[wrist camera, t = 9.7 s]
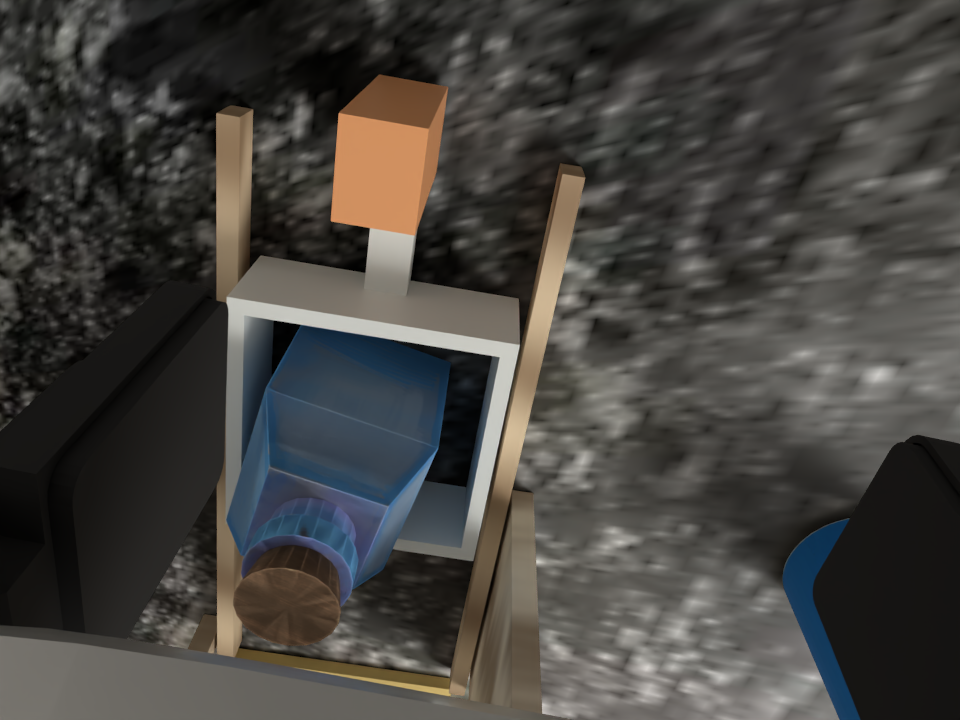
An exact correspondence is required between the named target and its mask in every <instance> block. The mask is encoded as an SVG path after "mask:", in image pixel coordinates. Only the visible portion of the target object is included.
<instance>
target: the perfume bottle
mask: <svg viewBox="0 0 960 720" xmlns="http://www.w3.org/2000/svg"><path fill="white" fill-rule="evenodd" d="M450 365H451V362H448V361H445V360H442V359H440V358H437V357H434V356H431V355H429V354H426V353H423V352H420V351H418V350H415V349H412V348H409V347H407V346H404V345H401V344H398V343H396V342H393V341H390V340H387V339H385V338H379V337H373V336H367V335H361V334H355V333H349V332H343V331H337V330H330V329H324V328H318V327H312V326H306V325H301V326H300V328H299V329H298V331H297V333H296V335H295V337H294V338H293V340H292V342H291V344H290V346H289V347H288V349H287V351H286V353H285V355H284V356H283V358H282V360H281V362H280V364H279V365H278V367H277V369H276V371H275V373H274V374H273V376H272V378H271V380H270V382H269V383H268V385H267V387H266V389H265V392H264V396H263V399H262V402H261V406H260V409H259V412H258V416H257V419H256V422H255V425H254V429H253V432H252V435H251V439H250V442H249V445H248V449H247V452H246V455H245V459H244V462H243V465H242V468H241V472H240V475H239V478H238V482H237V485H236V488H235V492H234V495H233V498H232V502H231V505H230V508H229V511H228V515H227V518H226V521H227V524H228V526H229V529H230V531H231V533H232V536H233V538H234V541H235V543H236V545H237V548H238V550H239V553H240V555H242V556H244V558H243V561H242V569H241V575H242V578H243V579H242V580H241V581H240V583H239V585H238V586H237V588H236V590H235V591H234V598H233V606H234V609H235V612H236V615H237V617H238V618H239V619H240V621H241V622H242V623H243V624H244V626H245V627H246V628H247V629H249V630H250V631H252V632H253V633H254V634H256V635H257V636H258V637H261V638H263V639H266V640H268V641H271V642H273V643H278V644H283V645H289V646H296V645H308V644H311V643H315V642H318V641H321V640H322V639H324V638H325V637H327V636H328V635H330V634H331V633H332V632H333V631H334V629H335V628H336V626H337V625H338V623H339V618H340V613H341V606H342V605H343V604H344V603H345V602H346V600H347V599H348V597H349V596H350V595H351V591H352V590H353V589H355V588H356V587H358V586H359V585H361V584H362V583H364V582H365V581H367V580H368V579H370V578H371V577H373V576H374V575H376V574H377V573H379V572H381V571H382V570H383V569H384V567H385V565H386V563H387V560H388V558H389V556H390V554H391V552H392V549H393V547H394V545H395V543H396V540H397V538H398V536H399V534H400V532H401V529H402V527H403V525H404V523H405V521H406V518H407V516H408V514H409V512H410V510H411V507H412V505H413V503H414V501H415V499H416V496H417V494H418V492H419V490H420V488H421V485H422V483H423V481H424V479H425V476H426V474H427V472H428V470H429V468H430V465H431V463H432V461H433V459H434V457H435V454H436V452H437V450H438V448H439V441H440V434H441V427H442V420H443V413H444V406H445V399H446V393H447V386H448V379H449V372H450Z"/></svg>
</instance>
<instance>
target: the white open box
mask: <svg viewBox="0 0 960 720" xmlns="http://www.w3.org/2000/svg"><path fill="white" fill-rule="evenodd" d="M447 92H448V87H446V86H441V85H435V84H429V83H424V82H418V81H413V80H407V79H402V78H396V77H390V76H385V75H378V76H377V77H376V78H375V79H374V80H373V81H372V82H371V83H370V84H369V85H368V86H367V87H366V88H365V89H364V90H362V91H361V92H360V93H359V94H358V95H357V96H356V97H355V98H354V99H353V100H352V101H351V102H350V103H349V104H348V105H347V106H346V107H345V108H343V109H342V110H341V111H340V112H339V116H338V129H337V143H336V157H335V170H334V184H333V197H332V211H331V221H332V222H337V223H343V224H349V225H355V226H361V227H367V228H370V233H369V243H368V253H367V263H366V273H363V272H357V271H351V270H345V269H339V268H333V267H327V266H321V265H315V264H309V263H303V262H297V261H291V260H285V259H279V258H273V257H267V256H260V257H259V258H258V259H257V260H256V262H255V263H254V264H253V265H252V267H251V268H250V269H249V270H248V271H247V273H246V274H245V275H244V276H243V278H242V279H241V280H240V281H239V282H238V284H237V285H236V286H235V287H234V288H233V290H232V291H231V292H230V293H229V295H228V296H227V306H228V314H229V316H228V350H227V385H226V512H225V524H227V521H226V518H227V515H228V511H229V508H230V505H231V502H232V498H233V495H234V492H235V488H236V485H237V482H238V478H239V475H240V472H241V468H242V465H243V462H244V459H245V455H246V452H247V449H248V445H249V442H250V439H251V435H252V432H253V429H254V425H255V422H256V419H257V416H258V412H259V409H260V406H261V402H262V399H263V396H264V392H265V389H266V387H267V385H268V383H269V382H270V380H271V376H272V350H273V324H274V320H275V321H281V322H288V323H294V324H300V325H306V326H312V327H318V328H324V329H330V330H337V331H343V332H349V333H355V334H361V335H367V336H373V337H379V338H385V339H392V340H398V341H404V342H410V343H416V344H422V345H428V346H434V347H441V348H447V349H453V350H459V351H465V352H471V353H477V354H483V355H489V356H492V359H491V364H490V369H489V374H488V379H487V384H486V390H485V395H484V400H483V405H482V410H481V415H480V420H479V425H478V430H477V435H476V440H475V445H474V450H473V456H472V461H471V466H470V471H469V476H468V481H467V486H466V487H461V486H455V485H448V484H442V483H435V482H429V481H423V483H422V485H421V488H420V490H419V492H418V494H417V496H416V499H415V501H414V503H413V505H412V507H411V510H410V512H409V514H408V516H407V518H406V521H405V523H404V525H403V527H402V529H401V532H400V534H399V536H398V538H397V540H396V543H395V545H394V547H393V549H394V550H401V551H407V552H414V553H421V554H427V555H434V556H441V557H447V558H454V559H461V560H467V561H473V560H474V556H475V551H476V546H477V542H478V537H479V533H480V528H481V523H482V519H483V514H484V509H485V505H486V500H487V495H488V491H489V486H490V481H491V477H492V472H493V468H494V463H495V458H496V454H497V449H498V444H499V440H500V435H501V430H502V426H503V421H504V416H505V412H506V407H507V403H508V398H509V393H510V389H511V384H512V379H513V375H514V370H515V365H516V361H517V356H518V351H519V347H520V327H519V299H518V298H512V297H506V296H500V295H494V294H488V293H482V292H476V291H470V290H464V289H458V288H452V287H447V286H441V285H435V284H429V283H423V282H417V281H411V273H412V265H413V258H414V250H415V242H416V235H417V228H418V225H419V222H420V219H421V216H422V213H423V210H424V207H425V204H426V201H427V198H428V195H429V192H430V189H431V186H432V184H433V181H434V178H435V175H436V171H437V164H438V157H439V149H440V142H441V135H442V128H443V120H444V113H445V106H446V99H447Z"/></svg>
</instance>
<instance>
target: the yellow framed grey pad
mask: <svg viewBox="0 0 960 720" xmlns="http://www.w3.org/2000/svg"><path fill="white" fill-rule="evenodd" d="M235 657H236V658H242V659H248V660H254V661H260V662H266V663H271V664H277V665H283V666H288V667H293V668H299V669H304V670H310V671H315V672H320V673H326V674H331V675H337V676H342V677H347V678H353V679H358V680H363V681H369V682H374V683H380V684H385V685H390V686H396V687H401V688H407V689H412V690H417V691H423V692H428V693H434V694H439V695H444V696H450V695H451V694H449V685H450V678H444V677H437V676H430V675H423V674H416V673H409V672H402V671H395V670H388V669H381V668H374V667H367V666H360V665H353V664H346V663H339V662H332V661H325V660H318V659H311V658H304V657H297V656H290V655H283V654H276V653H269V652H262V651H255V650H248V649H241V648H238V651H237V654H236V656H235Z"/></svg>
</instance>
